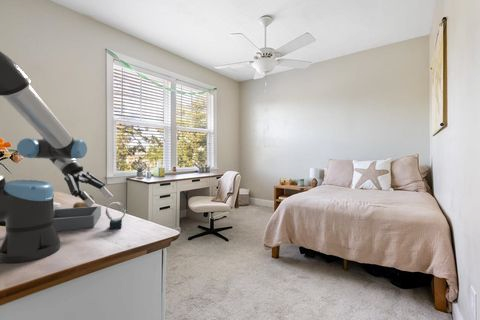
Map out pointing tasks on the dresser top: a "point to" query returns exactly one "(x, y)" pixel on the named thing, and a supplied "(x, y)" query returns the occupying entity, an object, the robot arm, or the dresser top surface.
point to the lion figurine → (81, 203)
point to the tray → (76, 218)
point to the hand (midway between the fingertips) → (102, 201)
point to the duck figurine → (56, 205)
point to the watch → (116, 222)
